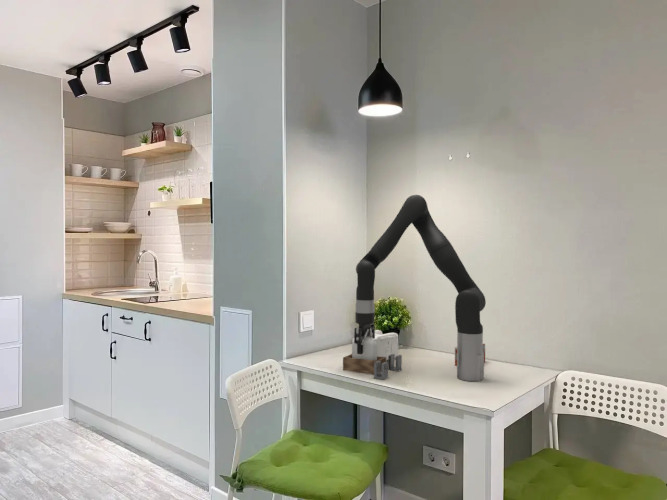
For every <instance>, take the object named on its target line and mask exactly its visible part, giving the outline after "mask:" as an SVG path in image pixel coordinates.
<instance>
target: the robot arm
mask: <svg viewBox="0 0 667 500" xmlns="http://www.w3.org/2000/svg"><path fill="white" fill-rule="evenodd" d="M432 217H433V216H432V215H431V213H430V211H429V208H428V203H427V201H426V199H425V198H424V197H423V196H422V195H419V194H411V195H410V196H408V197H407V198H406V199H405V201H404V203H403V204H402V205H401V208H400V209H399V210H398V213H397V214H396V216H395V217H394V220H392V222H391V223H390V225H389V226H388V227H387V229H386V230H385V231H384V232H383V233H382V235H380V237H379V238H378V239H377V241H376V242H375V243H374V245H373V246H372V247H371V248H370V250H369V251H368V252H367V253H366V254H365V255H364V256H363V257H362V258H361V259H360V260H359V262H358V263H357V264H356V267H355V271H356V274H357V279H356V281H357V287H356V294H355V319H354V320H355V324H358V327H355V328H354V334H353V335H354V337H353V338H354V343H356V344H357V354H363V342H364V340H365V339H366V337H367V336H368V337H372V338H375V330H376V328H375V327H376V325H375V289H374V288H375V279H376V269H377V268H378V267H379V266H380V264H381V263H383V262H384V261H385V260H386V259H387V258H388V256H389V255H391V253H392V252H393V250H394V249H395V248H396V246H397V245H398V244H399V241H400V239H401V238H402V237H403V235H404V234H405V231H406V230H407V229H408V228H409V226H410V225H413V227H414V228H415V229H416V231H417V232H418V234H419V236H420V238H421V240H422V242H423V244H424V246H425V248H426V251H427V253H428V254H429V257H430V258H431V260H432V261H433V263H434V265H435V266H436V268H437V269H438V270H439V272H440V273H442V274H443V275H444V276H445V277H446V278H447V279H448V280H449V281H450V282H451V284H452V285H453V286H454V289H455V290H456V291H457V293H458V294H457V296H456V297H455V302H454V303H455V305H454V310H455V311H454V312H455V325H456V328H457V330H456V331H457V335H456V337H457V338H456V340H457V341H456V343H457V344H456V347H457V366H456V378H457V379H459V380H462V381H466V382H467V381H469V382H481V381H482V380H483V379H484V375H485V368H484V367H485V362H484V352H483V344H484V343H483V341H484V340H483V339H484V337H483V335H484V328H483V327H484V326H483V324H482V323H481V312H482V311H483V310H484V309H485V307H486V301H487V300H486V296H485V294H484V293H483V292H482V290H481V289H480V288H479V286H478V285H477V284H476V283H475V281H474V280H473V279H472V277H471V276H470V274H469V273H468V271H467V268H466V267H465V266H464V264H463V261H462V260H461V259H460V257H459V255H458V253H457V251H456V250H455V248H454V246H453V245H452V243H451V242H450V240H449V239H448V238H447V237H446V235H445V234H444V233H443V231H442V230H440V229H439V227H438V226H437V225H436V223H435V221H434V219H433V218H432ZM372 333H373V334H372Z"/></svg>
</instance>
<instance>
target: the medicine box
mask: <svg viewBox="0 0 667 500" xmlns="http://www.w3.org/2000/svg"><path fill="white" fill-rule="evenodd" d="M483 352H484V363H485V362H486V343H483ZM454 366H455V367H457V346H454Z"/></svg>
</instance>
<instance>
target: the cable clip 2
mask: <svg viewBox="0 0 667 500" xmlns="http://www.w3.org/2000/svg"><path fill="white" fill-rule="evenodd" d="M402 358H403V357H402V354H398V356H396V358H395V354H391V355H389V356H388V360H387V362H388V371H389V370H390V371H392V372H397V371H398V372H399V370H400V371H402V370H403V369H402V368H403V367H402V364H403V363H402V360H403V359H402Z"/></svg>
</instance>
